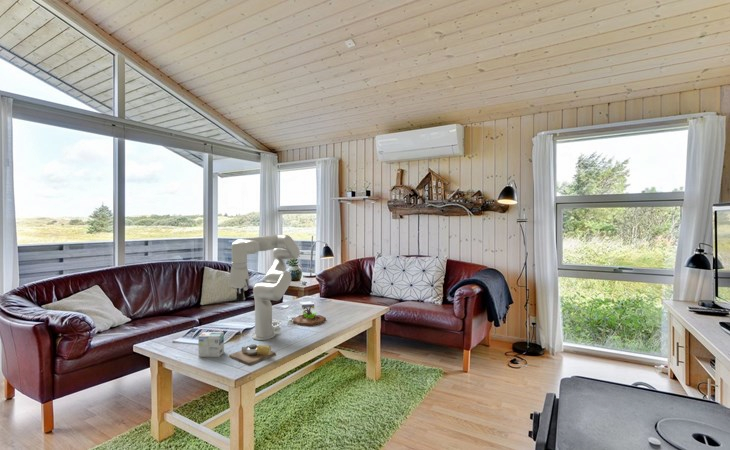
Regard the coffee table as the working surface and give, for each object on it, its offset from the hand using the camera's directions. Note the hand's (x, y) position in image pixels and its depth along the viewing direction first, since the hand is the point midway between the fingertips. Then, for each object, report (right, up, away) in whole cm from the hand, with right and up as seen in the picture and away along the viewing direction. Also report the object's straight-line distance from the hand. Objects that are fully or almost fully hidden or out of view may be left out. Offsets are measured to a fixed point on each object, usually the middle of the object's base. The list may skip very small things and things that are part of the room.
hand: (240, 300), depth 191 cm
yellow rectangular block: (+11, -25, -7) cm, 28 cm away
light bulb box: (-13, -27, -6) cm, 30 cm away
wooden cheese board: (+9, -27, -7) cm, 29 cm away
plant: (+29, -25, +51) cm, 63 cm away
